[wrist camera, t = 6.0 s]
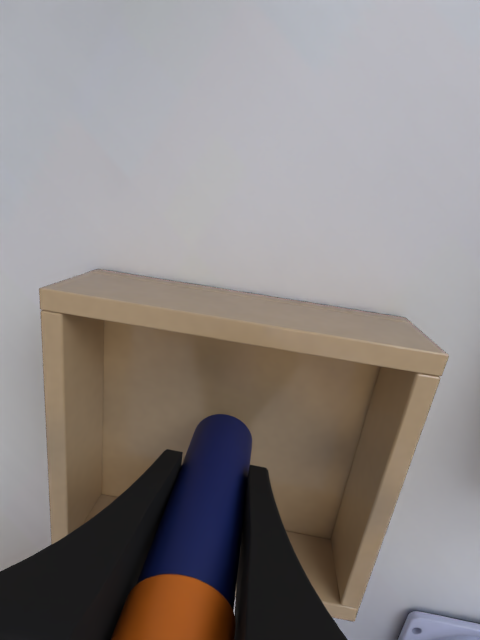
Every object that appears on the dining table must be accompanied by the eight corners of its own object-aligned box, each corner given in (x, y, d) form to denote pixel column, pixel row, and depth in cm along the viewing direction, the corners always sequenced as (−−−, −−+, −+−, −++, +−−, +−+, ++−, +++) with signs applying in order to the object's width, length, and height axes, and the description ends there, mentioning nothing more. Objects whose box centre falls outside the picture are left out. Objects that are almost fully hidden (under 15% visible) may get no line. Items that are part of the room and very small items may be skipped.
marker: (249, 470, 16) (219, 744, 8) (189, 459, 16) (97, 715, 8) (259, 417, 15) (235, 664, 7) (195, 406, 15) (98, 633, 7)
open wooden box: (339, 539, 19) (354, 623, 15) (95, 490, 20) (51, 559, 16) (406, 317, 15) (450, 355, 11) (96, 268, 16) (38, 287, 12)
